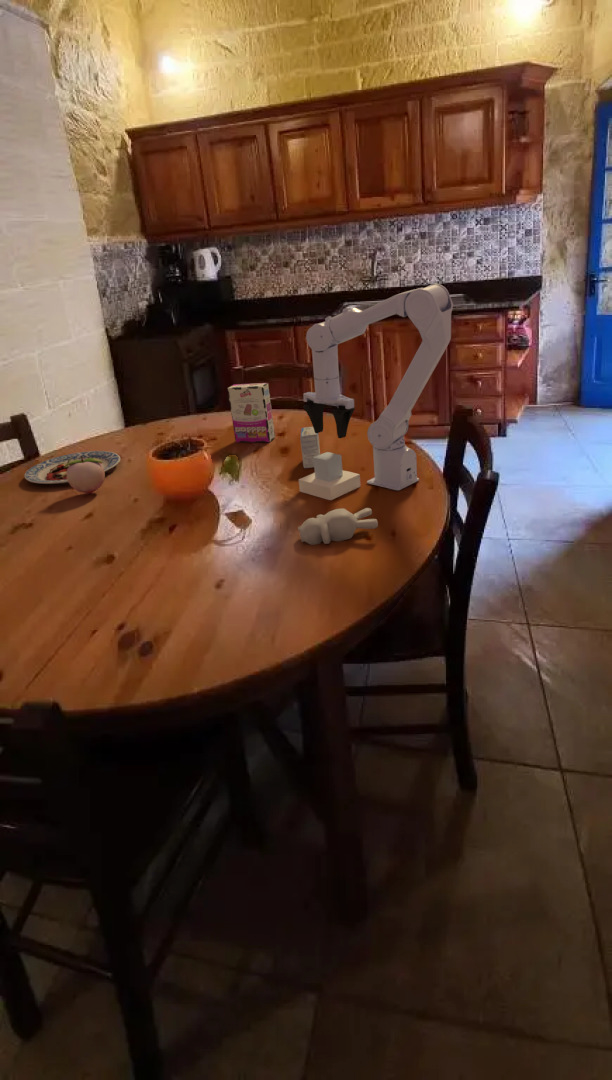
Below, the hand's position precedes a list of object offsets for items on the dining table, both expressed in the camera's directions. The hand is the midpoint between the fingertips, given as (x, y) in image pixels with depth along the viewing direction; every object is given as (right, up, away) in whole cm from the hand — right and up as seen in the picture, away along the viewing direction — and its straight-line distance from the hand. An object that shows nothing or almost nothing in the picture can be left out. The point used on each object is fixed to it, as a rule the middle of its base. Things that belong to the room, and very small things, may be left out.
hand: (330, 434), depth 156 cm
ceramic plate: (-70, -7, +27) cm, 76 cm away
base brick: (0, -13, -3) cm, 14 cm away
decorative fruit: (-60, -14, +9) cm, 62 cm away
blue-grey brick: (-1, -10, -5) cm, 11 cm away
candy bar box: (-21, +4, +39) cm, 44 cm away
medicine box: (-4, -5, +15) cm, 16 cm away
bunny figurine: (+1, -25, -27) cm, 36 cm away
